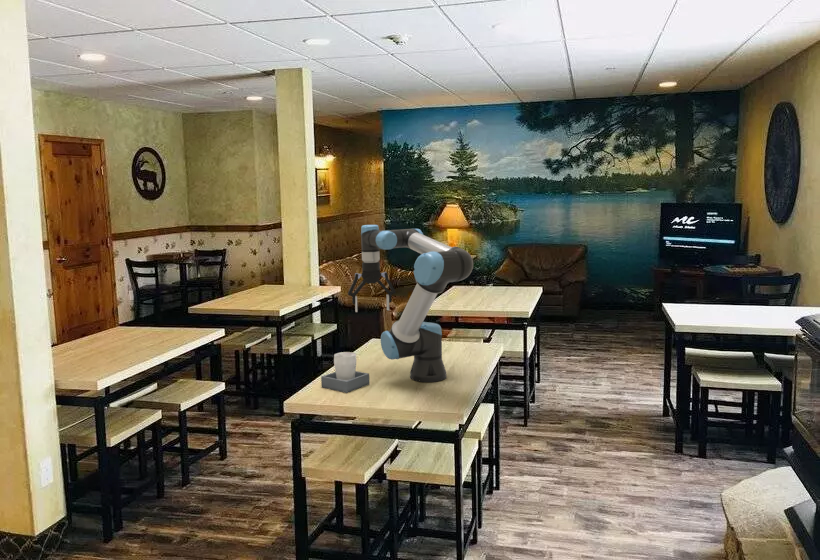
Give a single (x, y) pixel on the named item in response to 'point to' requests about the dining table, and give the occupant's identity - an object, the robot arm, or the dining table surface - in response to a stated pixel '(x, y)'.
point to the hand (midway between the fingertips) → (372, 310)
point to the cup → (345, 365)
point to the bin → (345, 382)
